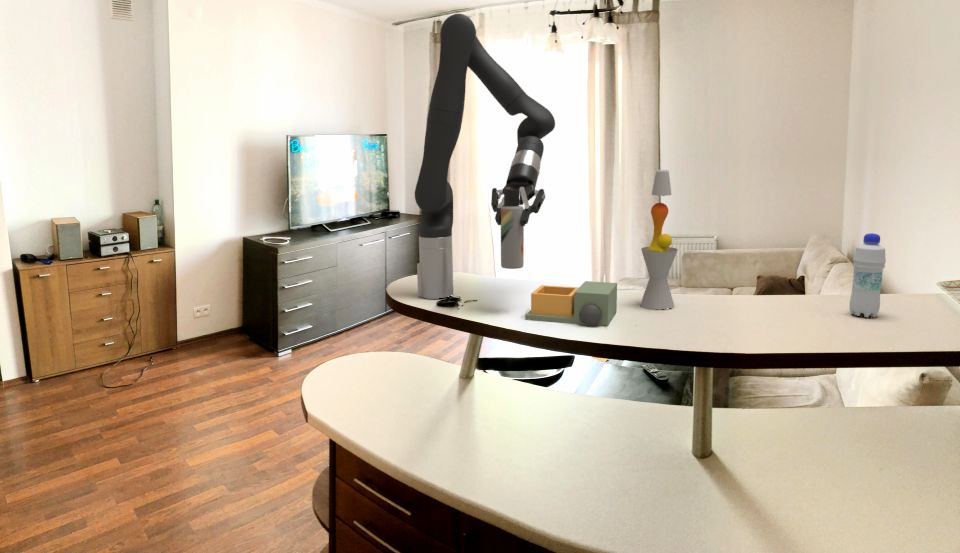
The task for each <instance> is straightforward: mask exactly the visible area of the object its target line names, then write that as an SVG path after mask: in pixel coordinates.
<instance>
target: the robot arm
mask: <svg viewBox="0 0 960 553" xmlns="http://www.w3.org/2000/svg"><path fill="white" fill-rule="evenodd" d="M439 31H440V32H439V35H440V48H439V50H440V51H439V64H438V70H437V74H436V78H435V81H434V84H433V88H432V91H431V96H430V100H429V106H428V113H427V118H426V126H425V127H426V128H425V129H426V130H425V135H424V143H423V146H424V147H423V153H422V154H423V156H422V161H421V166H420V169H419V174H418V178H417V181H416V185H415V190H414V199H415V203H416V205H417V206H418V208H419V209H420V215H421V216H420V222H419V225H418V248H419V249H418V250H419V262H418V263H417V264H416V271H417V273H416V275H417V276H416V278H417V297H418V298H423V299H426V300H427V299H429V300H440V299H439V298H443V297H448V296H451V295H453V296H454V269H453V267H454V266H453V265H454V264H453V261H454V260H453V225H454V193H453V188H452V186H451V184H450V183H449V182H448V174H449V166H450V163H451V158H452V156H453V154H454V153H453V152H454V151H455V148H456V145H457V142H458V140H459V137H460V132H461V129H462V124H463V117H464V109H465V104H466V103H465V100H466V88H467V87H466V86H467V85H466V84H467V81H466V80H467V72H468V69H470V71H471V72H472V73H474V75H475V76H476V77H477V78H478V79H479V80H480V82H481V83H482V84H483V85H484V87H485V89H487V90H488V92H489V93H490V94H491V96H492V97H493V98H494V99H495V100H496V101H497V102H498V104H499V105H500V107H502V108H503V109H504V110H505V113H507V114H508V115H509V116H517V115H519V114H520V115H521V114H523V115H524V116H526V117H525V118H524V119H523V120H522V121H520V123H519V125H518V127H517V132H516V138H517V139H516V140H517V147H516V150H515V152H514V153H515V154H514V156H513V159H512V161H511V164H510V168H509V170H508V174H507V177H506V182H505V186H504V187H503V188H502V189H498V188H496V187H493V188H492V190H491V201H490V202H491V203H490V204H491V209H492V210H493V212H494V213H496V214H495V215H494V220H495V222H496V224H497V225H498V226H501V207H502V206H506V205H504V188H506V187H518V188H520V205H519V206H523V208H524V209H523V212H522V216H521V220H520V223H521V226H524V227H525V226H526V225H527V224H528V223H529V220H530V216H531V214H538V213H539V212H540V209H541V207H542V205H543V202H544V200H545V199H546V193H545V189H544V188H540V189H536V187H537V182H538V178H539V176H540V172H541V164H542V163H541V162H542V159H543V154H544V148H545V146H544V143H543V140H542V139H544V137H546V136H547V135H549V134H551V133H552V132H553V131H554V129H555V127H556V120H555V117H554V116H553V113H551V111H550V110H549V109H548V108H546V106H544V105H542V104H541V103H539V101H537V100H536V99H534V98H532V97H531V96H530V95H528V94H527V93H526V92H525V90H524V89H523V88H522V87H521V86H520V85H519V84H518V82H517V81H516V80H515V79H514V78H513V77H512V76H511V75H510V74H509V73H508V72H507V71H506V69H504V68H503V67H502V66H501V65H500V64H499V63H498V62H497V61H496V60H495V59H494V58H493V57H492V56H491V55H490V54H489V53H488V51H487V50H486V48H485V47H484V46H483V45H482V43H481V41H480V40H479V38H478V36H477V29H476V26H475V24H474V22H473V20H472V19H471V18H470V17H469V16H467V15H466V14H463V13H454V14H452V15H449V16H448V17H447V18H446V19H444V21H443V22H442V24H441V28H440V30H439ZM502 196H503V197H502ZM501 197H502V198H501ZM534 197H535V198H534ZM532 198H534V200H533V202H532V204H531V205H530V204H529V201H530V200H531V199H532ZM499 200H501V201H500V202H499Z"/></svg>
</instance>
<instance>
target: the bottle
mask: <svg viewBox="0 0 960 553" xmlns="http://www.w3.org/2000/svg"><path fill="white" fill-rule="evenodd" d="M880 243H881V236H880V235H879V234H878V233H871V232H870V233H866V234H865V235H864V236H863V243H861V244H859V245H857V246H856V247H855V251H854V255H853V259H852V260H853V262H852V266H853V277H852V284H851V286H852V288H851V294H850V299H849V311H850V312H849V313H850V314H851V315H852V314H855V315H854V316H856V315H857V316H860V317H861V315H862V314H863V318H865V317H868V318H869V317H870V316H871V317H870V318H872V317H873V318H876V316H877V315H878V314H879V311H880V309H881V308H880V307H881V289H882V288H881V287H882V281H883V270H884V269H885V267H886V262H887V260H886V248H885V247H884V246H882V245H880ZM861 313H862V314H861ZM857 316H856V317H857Z"/></svg>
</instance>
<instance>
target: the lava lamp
mask: <svg viewBox="0 0 960 553" xmlns="http://www.w3.org/2000/svg"><path fill="white" fill-rule="evenodd" d="M654 175H655V176H654V179H653V180H654V181H653V185H652V190H651V196H660V197H661V196H662V197H666V196H672V195H673V194H672V188H671V187H672V186H671V179H670V178H671V177H670V172H669V170H668V169H657V170H656V171H655V173H654ZM650 215H651V218H652V223H653V236H652V240H651V243H650V245H649V246H644V247H642V248H641V254H642V256H643V259H644V263H645V266H646V269H647V273H648V275H649V276H648V277H649V279H648V282H647V284H646V288H645V290H644V292H643V296H642V299H641V301H640V304H639V305H640V307H641V306H642V307H641V308H643V307H644V308H643V309H647V308H648V310H653V309H667V308H672V309H674V308H675V303H674V299H673V296H672V292H671V289H670V285H669V282H668V275H669V273H670V271H671V269H672V266H673V263H674V261H675V258H676V256H677V253H678V248H676V247H670V246H671V245H672V243H673V239H672V236H671V235H670V234H667V233H663V234H662V232H663V228H664V224H665V221H666V219H667V217H668V215H669V207H668V206H667V205H666V204H665V203H664V202H657V203H655V204H653V205H652V206H651V209H650ZM673 307H674V308H673ZM667 310H668V309H667Z"/></svg>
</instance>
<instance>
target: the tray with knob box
mask: <svg viewBox="0 0 960 553" xmlns="http://www.w3.org/2000/svg"><path fill="white" fill-rule="evenodd" d="M617 301H618V283H617V282H605V281H590V280H589V281H588V280H585V281H584V282H583V283H582V284H581V285H580V286H579V287H575V286H561V285H544V284H542V285H540V286H539V287H537V288H536V289H535V290H534V291H532V292H531V293H530V310H529V311H527V313H526V314H525V317H524V318H525V320H527V321H528V320H529V321H541V322H552V323H564V324H565V323H566V324H576V325H585V326H586V327H591V328H592V327H595V326H600V327H601V326H603V327H609V325H610V324H611V322H612V321H613V319H614V318H615V316H616V314H617V308H618V307H617V305H618V304H617V303H618V302H617Z"/></svg>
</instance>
